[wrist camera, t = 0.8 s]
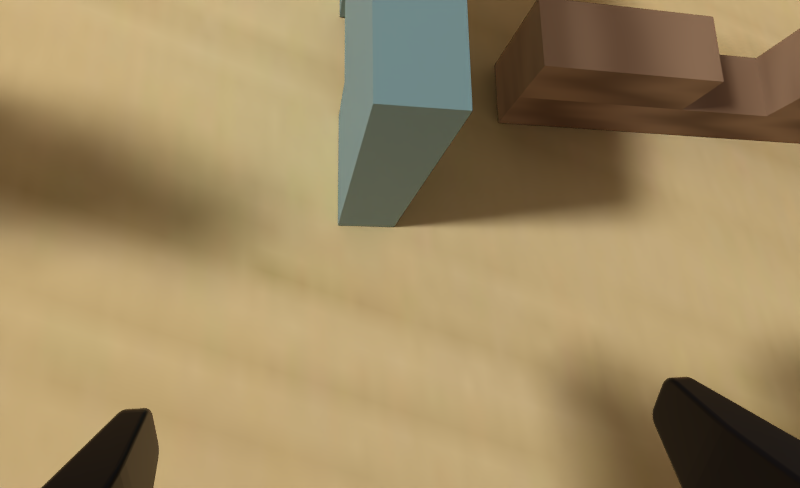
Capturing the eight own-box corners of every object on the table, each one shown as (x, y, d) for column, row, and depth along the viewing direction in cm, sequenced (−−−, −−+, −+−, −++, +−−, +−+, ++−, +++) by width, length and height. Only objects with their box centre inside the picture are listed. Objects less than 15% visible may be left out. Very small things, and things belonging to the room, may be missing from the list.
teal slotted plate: (393, 227, 24) (472, 110, 13) (337, 225, 23) (372, 103, 13) (390, -15, 26) (453, -273, 16) (340, -21, 26) (370, -289, 15)
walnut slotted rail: (843, 95, 30) (946, 43, 25) (853, 146, 29) (962, 102, 25) (494, 64, 26) (538, -3, 22) (498, 122, 26) (544, 65, 21)
